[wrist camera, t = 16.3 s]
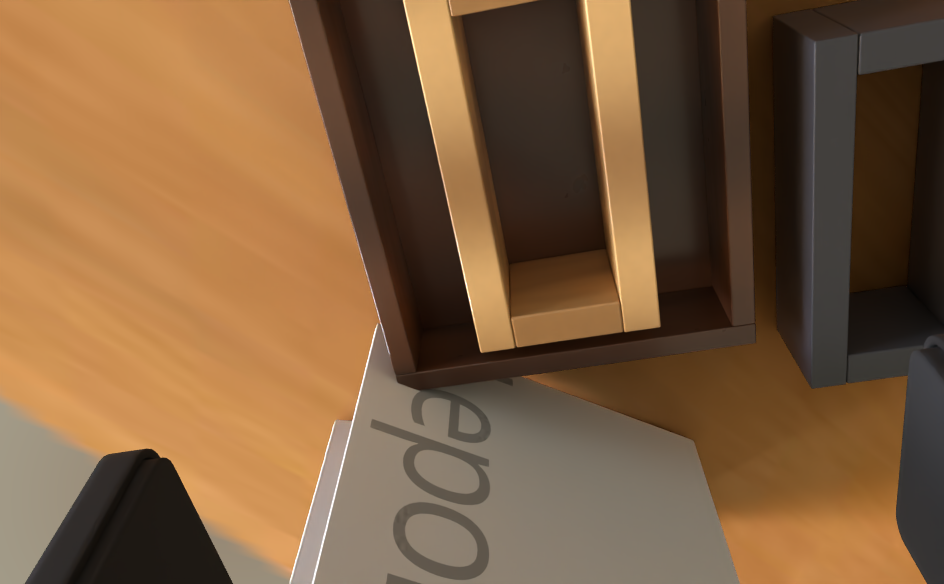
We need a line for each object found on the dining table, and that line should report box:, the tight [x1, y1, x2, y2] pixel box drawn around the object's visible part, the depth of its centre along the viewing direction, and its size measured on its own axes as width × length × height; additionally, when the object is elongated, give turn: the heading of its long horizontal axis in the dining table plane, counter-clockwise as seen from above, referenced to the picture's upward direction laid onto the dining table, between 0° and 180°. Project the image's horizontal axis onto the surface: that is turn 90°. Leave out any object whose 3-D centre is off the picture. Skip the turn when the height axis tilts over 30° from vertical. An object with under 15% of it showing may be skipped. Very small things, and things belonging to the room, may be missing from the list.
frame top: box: [403, 0, 661, 353], centre depth 26 cm, size 12×6×4 cm, turn 11°
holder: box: [289, 0, 756, 391], centre depth 26 cm, size 16×13×4 cm
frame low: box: [773, 0, 944, 389], centre depth 27 cm, size 12×6×4 cm, turn 11°
